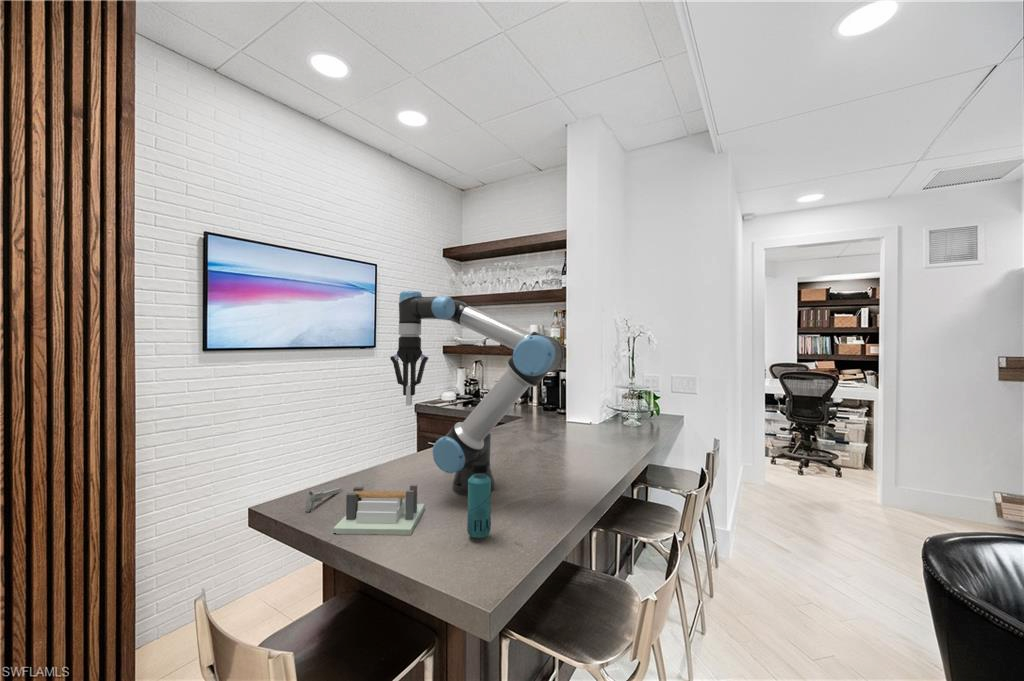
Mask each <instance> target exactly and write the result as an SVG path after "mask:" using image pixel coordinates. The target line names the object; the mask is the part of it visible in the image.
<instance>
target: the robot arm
mask: <svg viewBox="0 0 1024 681" xmlns="http://www.w3.org/2000/svg"><path fill="white" fill-rule="evenodd" d="M422 295H423V294H422V292H421V291H418V290H417V291H416V290H402V291H401V292H400V293H399V297H398V335H399V337H398V348H397V352H396V353H395V354H394V355H392V356H390V358H389V360H390V361H391V362H392V364H393V367H394V372H395V376H396V383H397V384H398V385H400V386H402V387H403V388H402V394H403V396H405V406H406V407H407V406H409V407H410V406H412V405H413V396H415V395H416V386H417V385H421V383H422V380H423V375H424V371H425V368H426V364H427V362H428V361H429V356H426V355H424V353H423V351H422V338H421V336H422V320H443V321H451V322H453V323H456V324H457V325H460V326H462V327H464V328H467V329H469V330H472V331H473V332H475V333H477V334H480V336H481V335H482V336H484V337H486V338H487V339H490V340H492V341H495V342H496V343H499V344H501V345H502V346H505V347H507V348H509V349H512V351H513V353H512V356H510V358H509V359H508V361H507V362H506V363H507V369H506V370H505V372H504V373H503V374H502V376H500V378H499V379H498V380H497V381H496V382H495V383H494V385H493V386H492V387H491V388H490V390H489V391H488V392H487V393H486V395H485V396H484V397H483V398H482V399H481V400H480V402H479V403H477V405H476V406H475V407H474V409H473V410H472V411H471V413H469V414H468V416H467V417H466V418H465V419H464V420H463V421H458V422H456V423H455V424H454V425H453V426H452V427H451V429H450V430H449V431H448V433H446V434H445V435H444V436H441V437H440V438H438V439H437V440H436V441H435V442H434V445H433V447H432V458H433V461H434V464H435V465H436V466H437V468H438V469H440V470H441V471H442V472H444V473H447V474H454V473H455V474H454V476H453V479H452V483H451V490H452V491H453V492H454V493H456V494H459V495H463V496H468V479H469V478H470V477H471V476H472V475H474V474H486V475H487V476H488V477H489V478H490V479H491V491H492V490H493V489H494V490H495V488H496V486H495V484H496V483H495V479H494V474H493V472H492V468H491V439H492V438H491V436H492V433H491V431H492V430H493V429H494V428H495V427H496V426H497V425H498V423H499V422H500V421H501V420H502V419H503V418H504V417H505V415H506V414H507V413H508V412H509V411H510V409H512V407H513V406H514V405H515V404H516V402H517V401H519V399H520V398H521V397H522V396H523V394H525V392H526V391H527V390H528V389H529V388H531V387H532V388H533V387H538V384H540V383H541V381H542V380H543V379H544V378H545V377H546V376H547V374H548V373H550V372H554V371H556V370H557V369H559V367H560V366H561V365H562V363H563V362H564V357H565V351H564V347H563V345H562V344H561V343H560V341H559V340H558V339H556V338H555V337H551V336H548V335H544V334H541V333H539V332H536V331H532V332H529V331H527V330H525V329H523V328H520V327H518V326H515V325H513V324H511V323H509V322H507V321H504V320H502V319H500V318H498V317H496V316H493V315H490V314H488V313H486V312H485V311H482V310H480V309H478V308H475V307H472V306H470V305H468V304H467V303H466V302H464V301H461V300H459V299H458V300H457V299H453V298H452V296H451V297H450V296H447V295H446V296H445V295H444V296H443V295H438V296H422ZM399 360H400V361H401V362H402V370H401V367H400V362H399ZM419 360H420V361H421V362H420V364H419V368H418V373H417V372H416V371H417V370H416V368H417V362H418V361H419ZM409 366H410V385H409ZM401 371H402V372H401ZM416 375H417V376H416ZM475 462H485V463H486V464H487V472H485V473H474V472H472V465H473V463H475ZM494 487H495V488H494ZM494 490H493V491H494ZM493 491H492V492H493Z"/></svg>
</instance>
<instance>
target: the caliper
mask: <svg viewBox="0 0 1024 681" xmlns="http://www.w3.org/2000/svg"><path fill="white" fill-rule="evenodd" d="M343 489H344V488H343V487H336V488H333V489H329V490H326V491H318V492H315V490H309V491H308V495H307V497H306V505H305V506H306V507H305V510H306V511H305V512H306V513H311V510H313V511H314V510H315V506H316V502H321V501H322V500H323V499H324V498H326V497H330V496H333V495H337V494H340V493H341V492H342V491H344V490H343ZM341 490H342V491H341ZM340 491H341V492H340ZM339 492H340V493H339Z"/></svg>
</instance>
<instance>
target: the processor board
mask: <svg viewBox="0 0 1024 681" xmlns="http://www.w3.org/2000/svg"><path fill="white" fill-rule="evenodd" d="M355 490H361V491H364V486H355V487H353V492H354V491H355ZM405 491H406V498H359V501H358V503H357V493H353V492H347V494H346V496H345V497H346V499H345V500H346V502H345V503H346V505H345V506H346V507H345V510H346V511H345V515H344V517H342V519H340V520H339V521H338V522H337V524H336V525H335V526H334V527H333V528H332V534H333V533H336V534H335V535H372V534H377V535H381V536H383V535H385V536H386V535H387V536H392V535H393V536H411V535H412V533H413V531H414V530H415V527H417V524H418V522H419V520H420V519H421V516H422V515H423V513H424V511H425V507H426V506H425V505H426V504H425V503H418V484H409V489H408V490H405ZM414 491H415V495H414ZM377 535H376V536H377Z"/></svg>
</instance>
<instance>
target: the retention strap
mask: <svg viewBox="0 0 1024 681" xmlns="http://www.w3.org/2000/svg"><path fill="white" fill-rule="evenodd" d="M406 491H407V490H363V491H361V490H355V491H354V492H352V493H357V503H358V501H359V498H406ZM414 495H415V491H414Z"/></svg>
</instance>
